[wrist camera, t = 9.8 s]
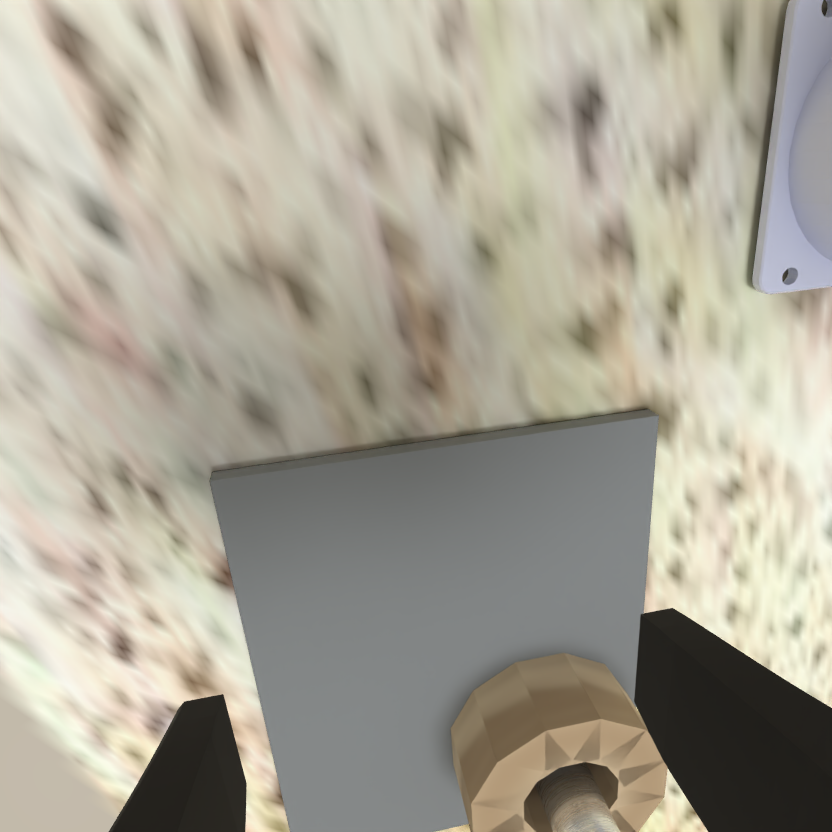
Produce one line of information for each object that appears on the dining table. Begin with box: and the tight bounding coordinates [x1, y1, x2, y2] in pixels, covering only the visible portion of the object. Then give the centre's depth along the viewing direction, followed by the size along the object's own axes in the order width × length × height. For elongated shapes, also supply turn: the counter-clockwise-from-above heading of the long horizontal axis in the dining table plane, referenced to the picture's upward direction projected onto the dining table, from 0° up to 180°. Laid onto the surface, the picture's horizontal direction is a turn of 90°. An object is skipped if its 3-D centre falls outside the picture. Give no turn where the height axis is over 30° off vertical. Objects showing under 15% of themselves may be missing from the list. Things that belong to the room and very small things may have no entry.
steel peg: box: [535, 762, 620, 832], centre depth 20 cm, size 2×2×8 cm
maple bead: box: [451, 653, 667, 832], centre depth 22 cm, size 7×7×3 cm
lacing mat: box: [210, 409, 659, 832], centre depth 22 cm, size 14×17×1 cm
